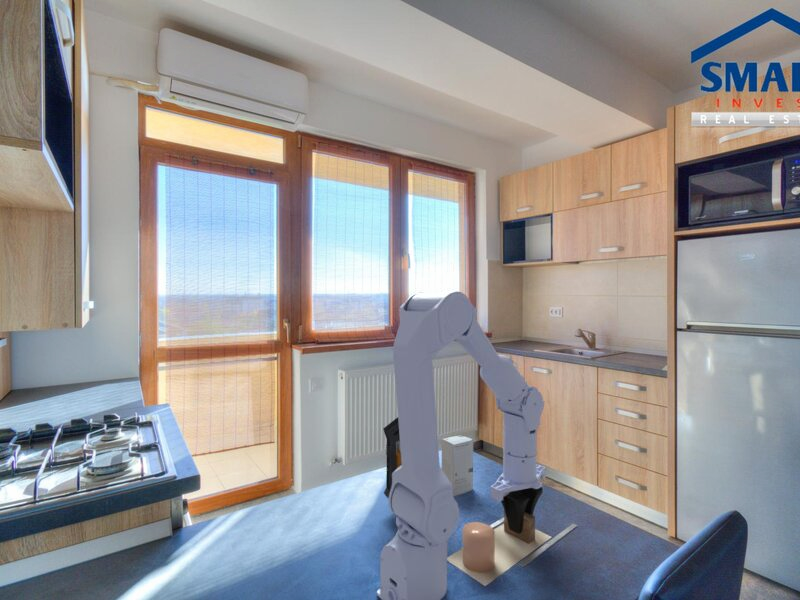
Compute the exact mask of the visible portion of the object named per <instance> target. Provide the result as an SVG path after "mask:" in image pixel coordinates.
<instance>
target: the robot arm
mask: <svg viewBox="0 0 800 600" xmlns="http://www.w3.org/2000/svg"><path fill="white" fill-rule="evenodd" d="M398 312H399V313H398V314H399V324H398V329H397V332H396V336H395V338H394V339H395V340H394V341H393V342H394V343H393V347H392V348H393V349H392V351H393V352H392V353H393V354H392V355H393V368H394V380H395V394H396V405H397V407H396V408H397V417H398V422H399V435H400V449H401V462H402V465H401V466H400V467H398V468H397V469H396V470H395V471H394V472H393V473H392V487H391V490H390V494H389V498H388V508H389V509H390V512H391V513H392V514H393V515H394V516H395V525H396V526H397V530H396V531H397V532H396V534H395V536H394V537H393V538H392V539H391V540H390V541H389V542H388V543H387V544H386V545H384V546H383V548H381V552H380V557H379V558H380V560H379V561H380V564H379V565H380V566H379V567H380V569H379V572H380V574H379V575H380V576H379V577H380V579H379V588H378V590H377V591H376V595H377V597H378V598H380V599H381V600H442V598H443V599H444V597H445V596H446V594H447V591H448V561H447V557H448V540H450V539H451V537H452V535H453V534H454V533H455V531H456V529H457V527H458V523H459V519H460V509H459V505H458V502H457V501H456V499H455V496H453V492H452V485H451V483H450V482H449V480H448V478H447V477H446V475H445V474H444V472H443V471H442V466H441V465H440V453H439V449H440V448H439V437H438V424H437V423H438V421H437V412H436V411H437V408H436V396H435V395H436V394H435V384H434V383H435V381H434V368H433V359H434V357H436V356H437V354H438V353H439V352H440V351H442V350H444V348H446V347H447V346H450V344H452V343H453V342H454V341H457V342H458V343H459V344H460V346H461V347H462V349H464V350H465V351H466V352H467V353H468V354H469V356H471V358H472V359H473V360H474V361H475V362H476V363H477V364H478V365H479V366H480V369H479V376H480V378H481V380H482V381H483V382H484V383H485V384H486V386H488V388H489V389H490V390H491V392H492V393H493V395H494V397H495V406H496V408H497V409H498V410H499V411H501V413H503V417H502V418H503V419H502V420H503V425H502V426H503V427H502V429H503V433H502V435H503V436H502V437H503V439H502V442H503V443H502V449H503V451H502V457H503V458H502V473H501V474H500V475H499V476H498V478H497V480H496V481H495V482H494V483H493V484H492V485H490V486H489V487H490V488H489V495H490V496H489V497H490V499H493V500H495V501H497V502H499V503H501V504H502V507H503V509H504V510H505V513H506V517H507V521H508V525H509V529H510V530H512V531H514V532H516V533H518V534H520V533H521V531H522V527H523V518H524V512H526V513H528V514H530V515H533V516H534V511H535V508H536V505H537V503H538V500H539V499H540V497H541V495H542V494H543V490H544V489H543V482H542V481H540V480H541V479H542V480H543V479H545V478H547V477H546V475H547V470H546V469H547V468H546V467H545V466H542V465H540V464H537V454H538V453H537V450H538V449H537V446H538V444H537V441H538V440H537V437H538V436H537V435H538V434H537V433H538V432H537V431H538V429H539V427H540V425H541V416H542V414H543V412H544V407H545V400H544V398H543V395H542V392H540V391H539V389H538V388H536V387H535V386H531V385H529V384H528V382H527V381H526V378H525V377H524V376H523V375H522V374H521V373H520V371H519V370H518V369H517V368H516V366H515V364H514V360H513V359H512V357H510V356H507V355H504V354H498V353H497V351H496V349H495V347H494V346H493V344H492V343H491V340H489V338H488V336H487V335H486V333H485V331H484V330H483V328H482V326H481V325H480V323H479V321H478V320H477V318H478V310H477V308H476V307H475V306H474V305H473V304H472V302H471V300H470V298H469V297H468V296H467V295H466V294H465V293H463V292H462V291H458V290H456V291H451V292H432V293H431V292H429V293H427V292H415V293H413V294H411V295H410V296H408V298H407V299H406V300H405V301H404V302H403V303H402V304H401V306H400V307H399V308H398ZM504 510H503V511H504Z"/></svg>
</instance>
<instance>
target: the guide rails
mask: <svg viewBox="0 0 800 600" xmlns="http://www.w3.org/2000/svg"><path fill="white" fill-rule="evenodd" d="M502 524H504V516H503V517H501V518H500V519H498V520H497V521H495V522H493V523H492V524H490V525H489V526H490V527H492V528H493V529H495V528H497V527H499V526H501V525H502ZM577 527H578V525H577V524H575V523H571V524H570V525H569V526H568V527H566V528H565V529H563V530H562V531H561V532H559V533H558V534H557V535H555V536H554V537H552V538H550V539H549V540H548V542H547V541H546V542H545V543H544V544H542V545H541V546H540V547H538V548H537V549H535V550H534V551H533V552H531V553H530V554H529V555H527V556H526V557H525V558H523V559H522V560H521V561H519V562H518V565H519V566H521V567H522V568H525V566H527V565H528V564H529V563H531V562H533V560H535V559H536V558H537V557H539V556H540V555H541V554H543V553H544V552H546V551H547V550H548V549H549V548H550V547H552V546H553V545H554V544H556V543H557V542H558V541H560V540H561V539H562V538H564V537H565V536H566V535H568V534H569V533H570V532H571V531H573V530H574V529H575V528H577Z"/></svg>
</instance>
